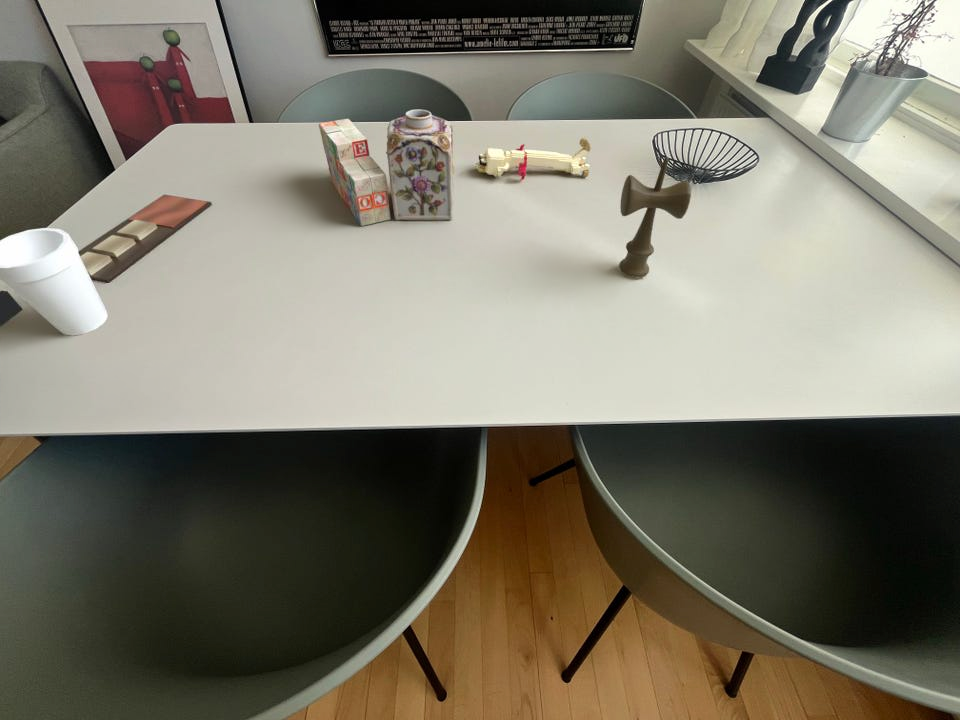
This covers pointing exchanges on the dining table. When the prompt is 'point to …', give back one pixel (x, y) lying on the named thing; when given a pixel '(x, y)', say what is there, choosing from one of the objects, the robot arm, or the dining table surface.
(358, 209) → the stack of blocks
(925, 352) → the dining table surface
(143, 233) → the word board
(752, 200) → the dining table surface
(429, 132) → the decorative jar
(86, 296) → the foam cup
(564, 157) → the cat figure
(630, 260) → the kendama
